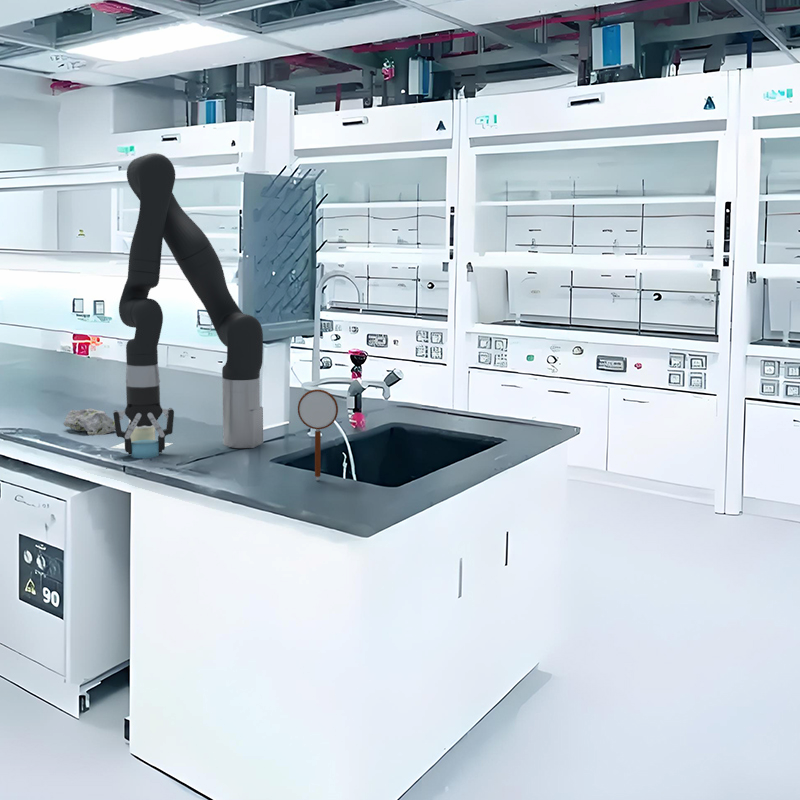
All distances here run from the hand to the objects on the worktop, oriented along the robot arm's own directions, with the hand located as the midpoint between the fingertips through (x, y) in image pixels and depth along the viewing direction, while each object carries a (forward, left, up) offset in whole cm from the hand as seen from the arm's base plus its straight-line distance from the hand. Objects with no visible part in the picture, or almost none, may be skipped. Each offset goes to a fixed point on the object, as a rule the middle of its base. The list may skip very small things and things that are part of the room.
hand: (145, 452), depth 204 cm
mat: (+6, -9, -1) cm, 10 cm away
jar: (+5, -7, -1) cm, 9 cm away
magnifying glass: (-46, +7, -1) cm, 47 cm away
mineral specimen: (+28, -19, -1) cm, 33 cm away
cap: (0, 0, -1) cm, 1 cm away
